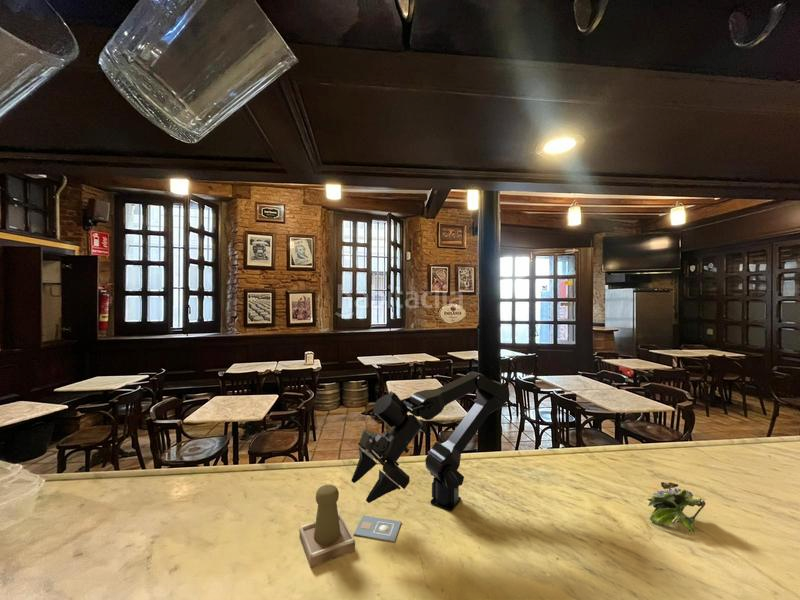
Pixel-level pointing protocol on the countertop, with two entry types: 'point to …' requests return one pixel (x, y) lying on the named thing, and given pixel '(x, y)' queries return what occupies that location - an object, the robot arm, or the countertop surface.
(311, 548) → the brown square tray
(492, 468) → the countertop surface
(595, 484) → the countertop surface
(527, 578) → the countertop surface
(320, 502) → the olive pawn figure
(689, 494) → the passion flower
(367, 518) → the blueprint card
